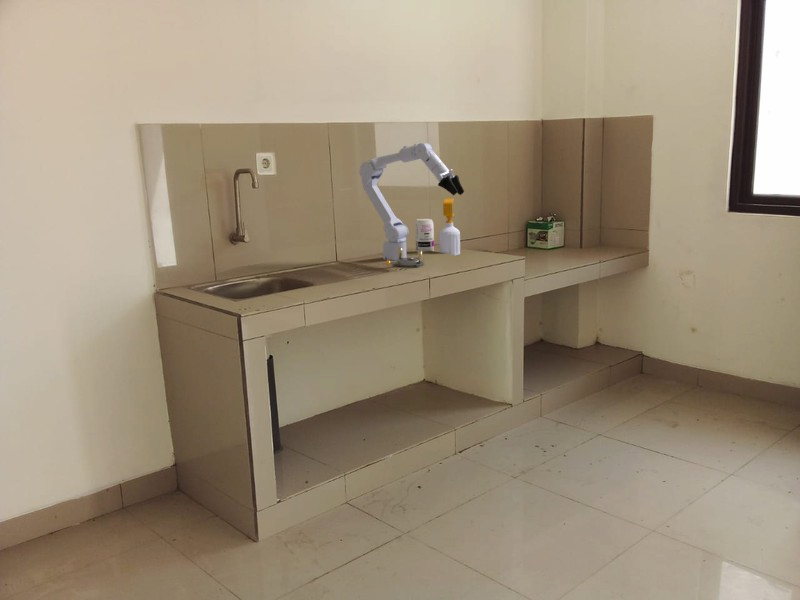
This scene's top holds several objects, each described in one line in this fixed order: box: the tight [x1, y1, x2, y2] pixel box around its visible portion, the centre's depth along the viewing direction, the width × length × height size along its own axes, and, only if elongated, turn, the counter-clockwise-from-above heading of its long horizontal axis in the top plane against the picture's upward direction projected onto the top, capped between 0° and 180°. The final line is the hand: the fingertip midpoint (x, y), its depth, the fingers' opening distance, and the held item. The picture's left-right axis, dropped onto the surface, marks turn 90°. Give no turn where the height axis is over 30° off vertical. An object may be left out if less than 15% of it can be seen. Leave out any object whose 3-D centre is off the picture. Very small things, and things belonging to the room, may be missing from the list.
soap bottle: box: [438, 198, 461, 257], centre depth 297 cm, size 9×9×25 cm
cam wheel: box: [385, 248, 425, 268], centre depth 269 cm, size 16×17×6 cm
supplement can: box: [414, 218, 435, 253], centre depth 307 cm, size 8×8×15 cm
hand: (459, 193), depth 266 cm, fingers open, 7 cm apart
